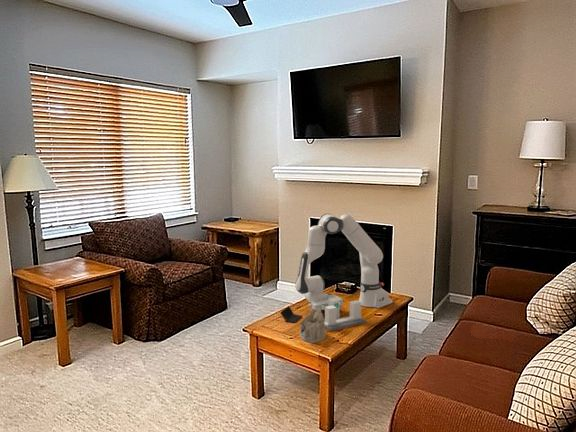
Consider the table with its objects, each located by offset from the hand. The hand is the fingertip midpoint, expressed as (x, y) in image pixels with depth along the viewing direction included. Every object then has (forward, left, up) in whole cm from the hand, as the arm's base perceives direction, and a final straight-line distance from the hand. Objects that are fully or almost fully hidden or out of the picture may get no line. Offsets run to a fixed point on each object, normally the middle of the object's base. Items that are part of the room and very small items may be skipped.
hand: (334, 307), depth 255 cm
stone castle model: (+25, +15, -6) cm, 30 cm away
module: (0, 0, -6) cm, 6 cm away
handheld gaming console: (+23, -10, -7) cm, 26 cm away
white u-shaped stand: (+1, +11, -6) cm, 12 cm away
